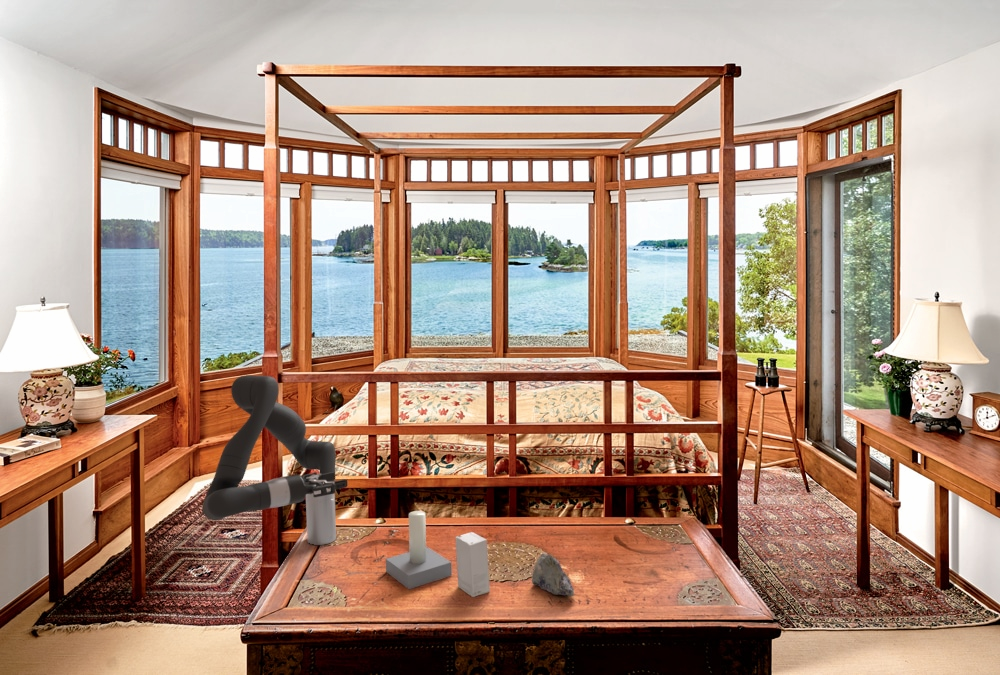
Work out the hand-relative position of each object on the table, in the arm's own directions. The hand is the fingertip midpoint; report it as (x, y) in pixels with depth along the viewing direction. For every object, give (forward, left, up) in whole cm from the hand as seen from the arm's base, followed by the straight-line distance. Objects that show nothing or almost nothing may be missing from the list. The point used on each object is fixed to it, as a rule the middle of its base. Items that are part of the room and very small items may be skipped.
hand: (340, 479), depth 185 cm
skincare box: (+28, +26, -30) cm, 48 cm away
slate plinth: (+10, +19, -30) cm, 36 cm away
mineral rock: (+42, +42, -30) cm, 67 cm away
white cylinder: (+10, +19, -26) cm, 33 cm away
